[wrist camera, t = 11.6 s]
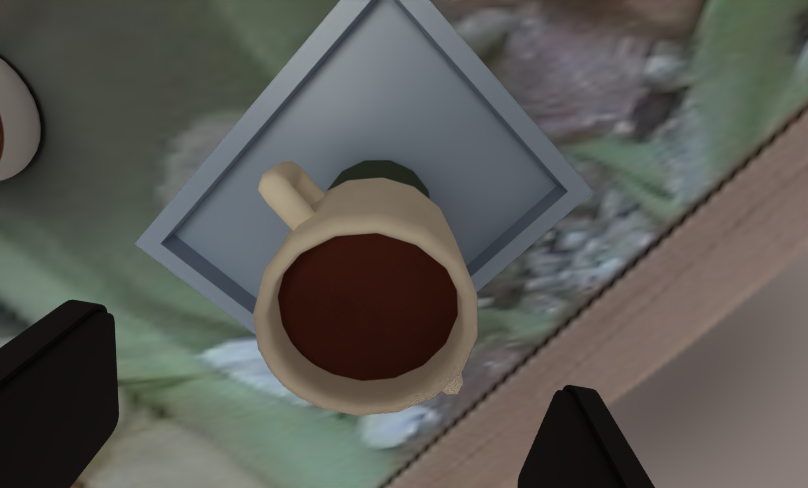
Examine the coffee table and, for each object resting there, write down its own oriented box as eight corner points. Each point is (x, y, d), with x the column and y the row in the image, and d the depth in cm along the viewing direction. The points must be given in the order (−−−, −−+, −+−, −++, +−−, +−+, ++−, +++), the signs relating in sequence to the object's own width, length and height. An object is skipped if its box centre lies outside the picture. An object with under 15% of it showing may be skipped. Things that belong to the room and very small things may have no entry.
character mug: (269, 175, 25) (150, 266, 12) (365, 93, 23) (337, 107, 11) (388, 307, 28) (387, 483, 16) (480, 243, 26) (555, 380, 14)
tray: (385, -39, 22) (384, -53, 20) (576, 182, 26) (593, 191, 24) (156, 230, 26) (134, 243, 24) (350, 380, 31) (347, 403, 28)
